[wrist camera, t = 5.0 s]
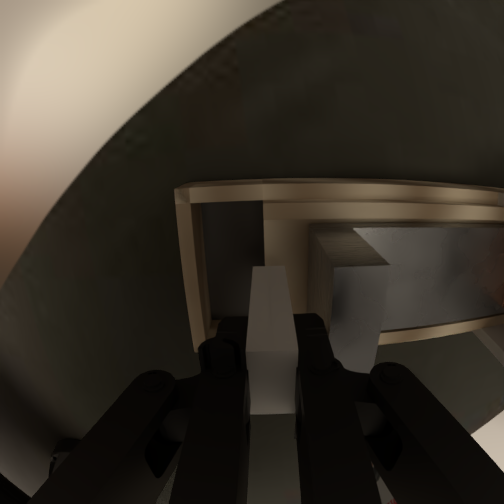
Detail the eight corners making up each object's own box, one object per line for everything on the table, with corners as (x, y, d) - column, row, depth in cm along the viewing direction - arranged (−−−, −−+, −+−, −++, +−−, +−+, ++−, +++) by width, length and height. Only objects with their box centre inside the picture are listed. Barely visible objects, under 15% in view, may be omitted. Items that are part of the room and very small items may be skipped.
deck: (202, 327, 22) (191, 361, 18) (187, 182, 18) (168, 191, 15) (547, 295, 20) (570, 312, 16) (566, 197, 17) (593, 207, 13)
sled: (305, 326, 18) (321, 400, 12) (308, 223, 16) (334, 267, 10) (524, 300, 17) (570, 338, 11) (540, 225, 15) (596, 252, 9)
